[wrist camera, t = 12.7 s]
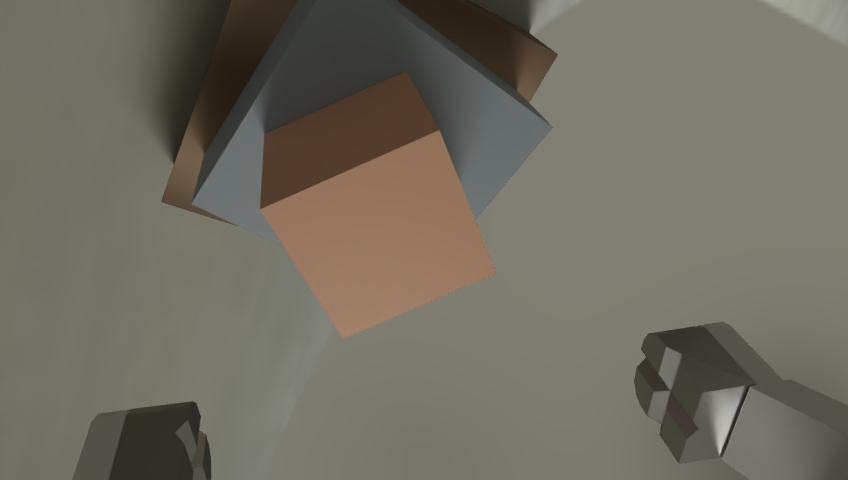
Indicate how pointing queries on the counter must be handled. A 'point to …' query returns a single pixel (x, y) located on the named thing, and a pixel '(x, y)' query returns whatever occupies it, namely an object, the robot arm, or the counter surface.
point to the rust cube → (371, 206)
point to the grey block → (353, 72)
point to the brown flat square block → (261, 21)
